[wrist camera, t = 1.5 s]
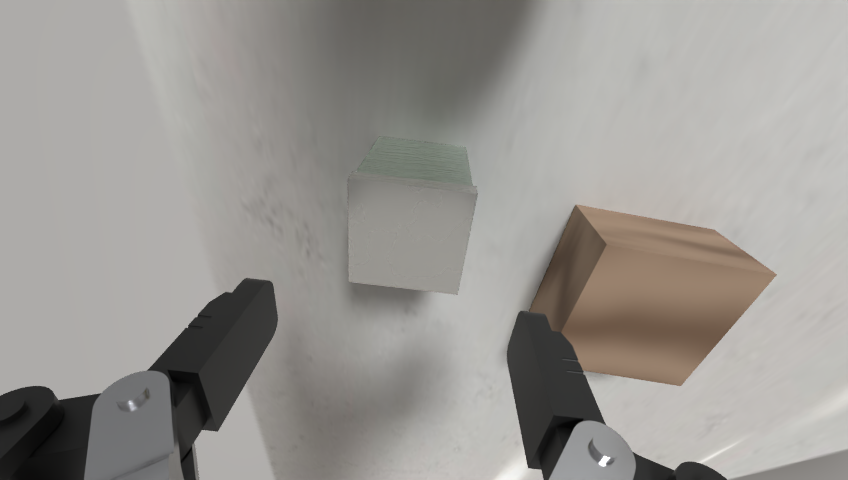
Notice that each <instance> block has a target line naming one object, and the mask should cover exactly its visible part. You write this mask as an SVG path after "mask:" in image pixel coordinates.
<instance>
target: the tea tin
mask: <svg viewBox="0 0 848 480" xmlns="http://www.w3.org/2000/svg"><path fill="white" fill-rule="evenodd" d="M477 195H478V193H477V188H476V186H473V183H472V178H471V172H470V167H469V162H468V156H467V151H466V147H463V146H455V145H446V144H438V143H430V142H421V141H413V140H405V139H396V138H388V137H380V136H379V138H378V139H377V141H376V142H375V144H374V146H373V147H372V149H371V150H370V152H369V153H368V155H367V156H366V158H365V159H364V161H363V162H362V164H361V165H360V167H359V168H358V170H357V171H356V172H353V171H352V173H351V174H350V176H349V177H348V271H349V282H353V283H362V284H370V285H379V286H387V287H396V288H404V289H413V290H422V291H430V292H439V293H447V294H456V295H458V290H459V285H460V280H461V275H462V270H463V265H464V260H465V255H466V250H467V245H468V240H469V235H470V230H471V225H472V220H473V215H474V210H475V205H476V200H477Z"/></svg>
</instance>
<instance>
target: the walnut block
mask: <svg viewBox="0 0 848 480" xmlns="http://www.w3.org/2000/svg"><path fill="white" fill-rule="evenodd" d="M776 275H777V274H775V273H774V272H773V271H771V270H770V269H768V268H767V267H766V266H764V265H763V264H761V263H760V262H759V261H757V260H756V259H754V258H753V257H752V256H750V255H749V254H747V253H746V252H745V251H743V250H742V249H740V248H739V247H738V246H736V245H735V244H733V243H732V242H731V241H729V240H728V239H726V238H725V237H724V236H722V235H721V234H719V233H718V232H717V231H715V230H712V229H707V228H701V227H696V226H690V225H685V224H679V223H674V222H668V221H663V220H657V219H652V218H647V217H641V216H636V215H630V214H625V213H619V212H614V211H608V210H603V209H597V208H592V207H586V206H581V205H575V207H574V210H573V212H572V214H571V217H570V219H569V221H568V223H567V226H566V228H565V230H564V233H563V235H562V237H561V239H560V242H559V244H558V246H557V249H556V251H555V253H554V255H553V258H552V260H551V262H550V265H549V267H548V269H547V271H546V274H545V276H544V278H543V281H542V283H541V285H540V287H539V290H538V292H537V294H536V297H535V299H534V301H533V303H532V306H531V308H530V310H529V312H535V313H543V314H545V315H546V317H547V319H548V322H549V325H550V327H551V330H552V331H558V332H561V333H562V334H563V335H564V336H565V338H566V339H567V340H568V341H569V342H570V343H571V344H572V346H573V348H574V351H575V353H576V355H577V358H578V362H579V363H580V365H581V367H582V370H584V371H591V372H597V373H603V374H609V375H615V376H621V377H628V378H634V379H640V380H646V381H652V382H659V383H665V384H671V385H677V386H681V385H682V384H683V383H684V381H685V380H686V379H687V378H688V377H689V376H690V375H691V373H692V372H693V371H694V370H695V369H696V368H697V366H698V365H699V364H700V363H701V362H702V361H703V360H704V358H705V357H706V356H707V355H708V354H709V353H710V351H711V350H712V349H713V348H714V347H715V346H716V345H717V343H718V342H719V341H720V340H721V339H722V338H723V336H724V335H725V334H726V333H727V332H728V331H729V329H730V328H731V327H732V326H733V325H734V324H735V323H736V321H737V320H738V319H739V318H740V317H741V316H742V314H743V313H744V312H745V311H746V310H747V309H748V308H749V306H750V305H751V304H752V303H753V302H754V301H755V299H756V298H757V297H758V296H759V295H760V294H761V292H762V291H763V290H764V289H765V288H766V287H767V286H768V284H769V283H770V282H771V281H772V280H773V279H774V277H775V276H776Z"/></svg>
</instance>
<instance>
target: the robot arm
mask: <svg viewBox="0 0 848 480" xmlns="http://www.w3.org/2000/svg"><path fill="white" fill-rule="evenodd" d="M277 322H278V315H277V308H276V301H275V294H274V287H273V284H272V282H271V281H267V280H258V279H250V278H246V279H244V280H243V281H242V282H241V283H240V284H239V285H238V286H237V288H236V289H235V290H234V291H233V292H232V293H229V292H225V293H223V294H222V295H220V296H219V297H217V298H215V299H214V300H212V301H210V302H209V303H208V304H207V305H206V307H205V308H204V309H203V310H202V311H201V312H200V313H199V314H198V317H196V318H195V319H194V320H193V321H192V322H191V323H190V324H189V325H188V328H185V330H184V331H183V332H182V333H181V334H180V335H179V336H178V337H177V338H176V340H175V341H174V342H173V343H172V344H171V345H170V346H169V347H168V348H167V349H166V351H165V352H164V353H163V354H162V355H161V356H160V357H159V358H158V360H157V361H156V362H155V363H154V364H153V365H152V366H151V367H150V368H149V369H148V370H147V371H142V372H137V373H134V374H131V375H128V376H126V377H124V378H122V379H120V380H118V381H116V382H115V383H113V384H112V385H111V386H109V387H108V388H107V389H105V390H104V391H103V393H100V394H94V395H88V396H82V397H75V398H69V399H63V400H58V399H57V397H56V396H55V395H54V393H53V391H52V390H50V389H49V388H46V387H42V386H31V387H25V388H20V389H17V390H14V391H11V392H8V393H5V394H3V395H1V396H0V480H199V474H198V465H197V457H196V449H195V444H194V441H195V440H196V438H197V437H198V435H199V433H200V432H201V430H209V431H218V430H219V428H220V427H221V425H222V423H223V421H224V420H225V418H226V416H227V415H228V413H229V411H230V410H231V408H232V406H233V404H234V403H235V401H236V399H237V398H238V396H239V394H240V392H241V391H242V389H243V387H244V386H245V384H246V382H247V380H248V379H249V377H250V375H251V373H252V372H253V370H254V368H255V367H256V365H257V363H258V361H259V360H260V358H261V356H262V355H263V353H264V351H265V349H266V348H267V346H268V344H269V343H270V341H271V339H272V337H273V336H274V333H275V331H276V327H277ZM507 362H508V368H509V373H510V378H511V383H512V388H513V394H514V399H515V404H516V409H517V414H518V419H519V424H520V429H521V434H522V440H523V445H524V450H525V455H526V460H527V465H528V468H532V469H541V470H542V474H543V478H544V480H727V479H726V478H725V477H723V476H722V475H721V474H719V473H718V472H716V471H715V470H713V469H711V468H709V467H708V466H705V465H703V464H700V463H696V462H684V463H682V464H680V465H679V466H678V467H677V468H676V469H675V471H674V470H672V469H669V468H667V467H665V466H662V465H660V464H658V463H655V462H653V461H650V460H648V459H646V458H643V457H641V456H639V455H637V454H635V453H634V452H632V450H631V448H630V447H629V445H628V444H627V442H626V441H625V440H624V439H623V438H622V437H621V436H620V435H619V434H618V433H617V432H616V431H614V430H613V429H612V428H610V427H608V426H607V425H606V424H605V422H604V420H603V417H602V415H601V412H600V410H599V408H598V405H597V403H596V401H595V398H594V396H593V393H592V391H591V389H590V386H589V384H588V382H587V379H586V377H585V375H583V370H582V367H581V365H580V363H579V362H578V358H577V355H576V353H575V351H574V348H573V346H572V344H571V343H570V342H569V341H568V340H567V339H566V338H565V336H564V335H563V334H562V333H561V332H558V331H552V330H551V327H550V325H549V322H548V319H547V317H546V315H545V314H543V313H535V312H527V311H520V312H519V314H518V316H517V319H516V322H515V325H514V329H513V332H512V335H511V338H510V341H509V344H508V350H507Z"/></svg>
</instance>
